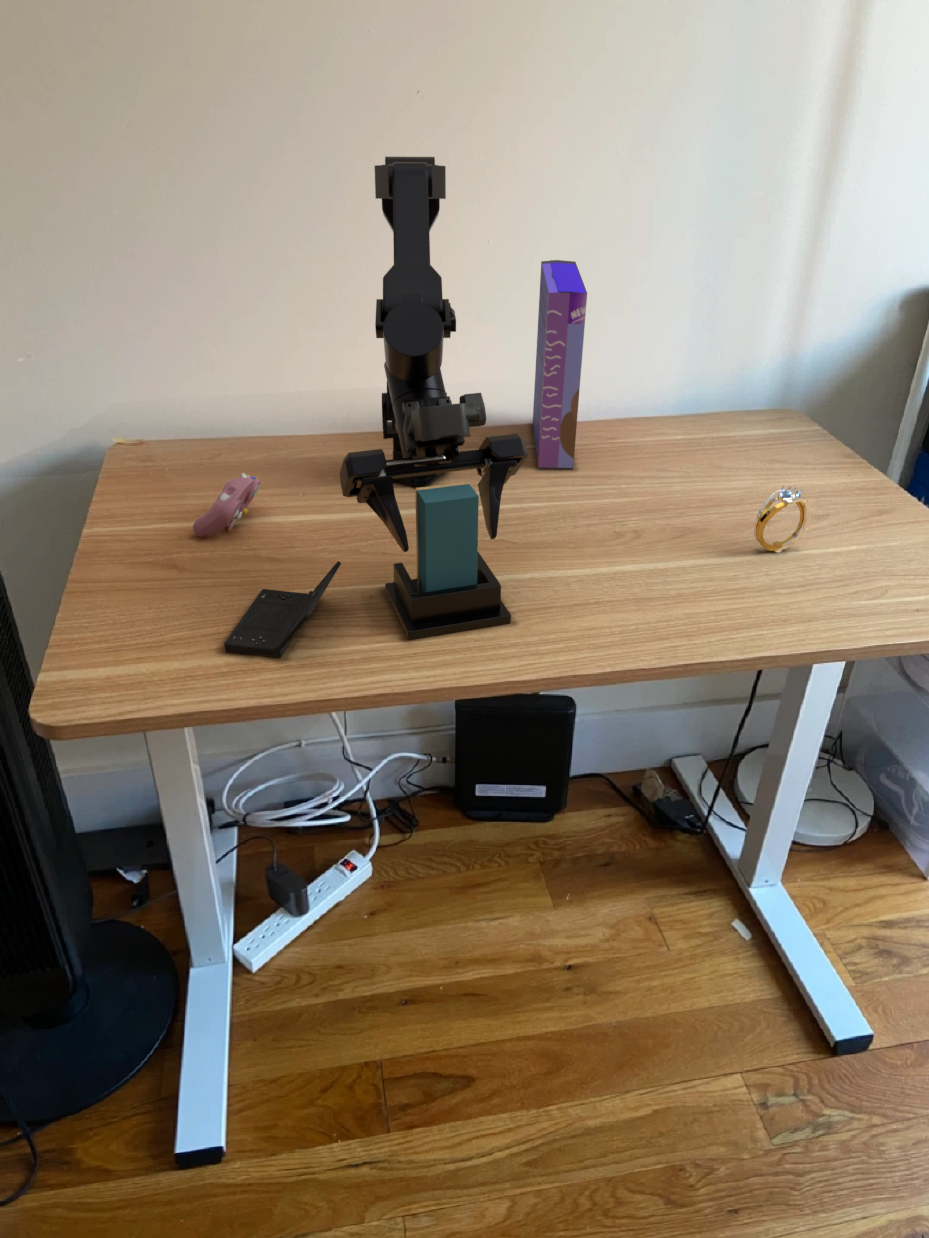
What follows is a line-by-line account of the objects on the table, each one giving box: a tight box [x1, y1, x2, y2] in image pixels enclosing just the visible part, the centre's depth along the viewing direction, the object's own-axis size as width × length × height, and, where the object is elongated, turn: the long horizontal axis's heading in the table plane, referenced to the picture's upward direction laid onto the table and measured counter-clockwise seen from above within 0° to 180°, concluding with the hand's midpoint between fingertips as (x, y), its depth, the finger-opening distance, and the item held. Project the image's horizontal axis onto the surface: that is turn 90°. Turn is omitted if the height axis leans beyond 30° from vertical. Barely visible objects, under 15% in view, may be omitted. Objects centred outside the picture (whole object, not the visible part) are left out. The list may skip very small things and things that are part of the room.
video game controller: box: [192, 472, 262, 538], centre depth 115 cm, size 10×5×7 cm, turn 168°
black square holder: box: [384, 551, 512, 641], centre depth 100 cm, size 10×11×4 cm
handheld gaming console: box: [223, 560, 342, 659], centre depth 96 cm, size 12×7×10 cm
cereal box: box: [532, 259, 588, 470], centre depth 132 cm, size 17×5×24 cm, turn 179°
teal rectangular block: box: [414, 481, 480, 593], centre depth 97 cm, size 4×6×12 cm, turn 108°
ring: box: [753, 485, 812, 553], centre depth 110 cm, size 7×3×8 cm, turn 105°
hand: (450, 544), depth 95 cm, fingers open, 9 cm apart
